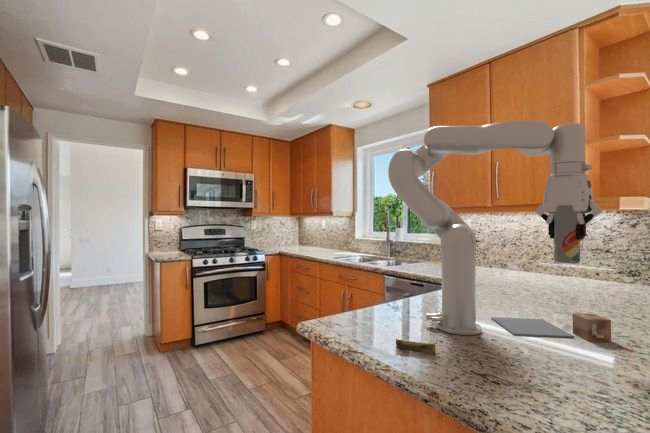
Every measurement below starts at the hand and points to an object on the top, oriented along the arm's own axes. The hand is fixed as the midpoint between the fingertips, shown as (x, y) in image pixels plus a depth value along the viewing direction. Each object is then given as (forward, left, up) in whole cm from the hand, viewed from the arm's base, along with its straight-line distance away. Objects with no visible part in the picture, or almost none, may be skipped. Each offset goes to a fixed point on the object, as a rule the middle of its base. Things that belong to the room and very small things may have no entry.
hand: (566, 238), depth 86 cm
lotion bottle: (0, 0, -7) cm, 7 cm away
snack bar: (-41, -11, -28) cm, 51 cm away
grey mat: (-3, +13, -28) cm, 31 cm away
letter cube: (+10, +6, -28) cm, 30 cm away
